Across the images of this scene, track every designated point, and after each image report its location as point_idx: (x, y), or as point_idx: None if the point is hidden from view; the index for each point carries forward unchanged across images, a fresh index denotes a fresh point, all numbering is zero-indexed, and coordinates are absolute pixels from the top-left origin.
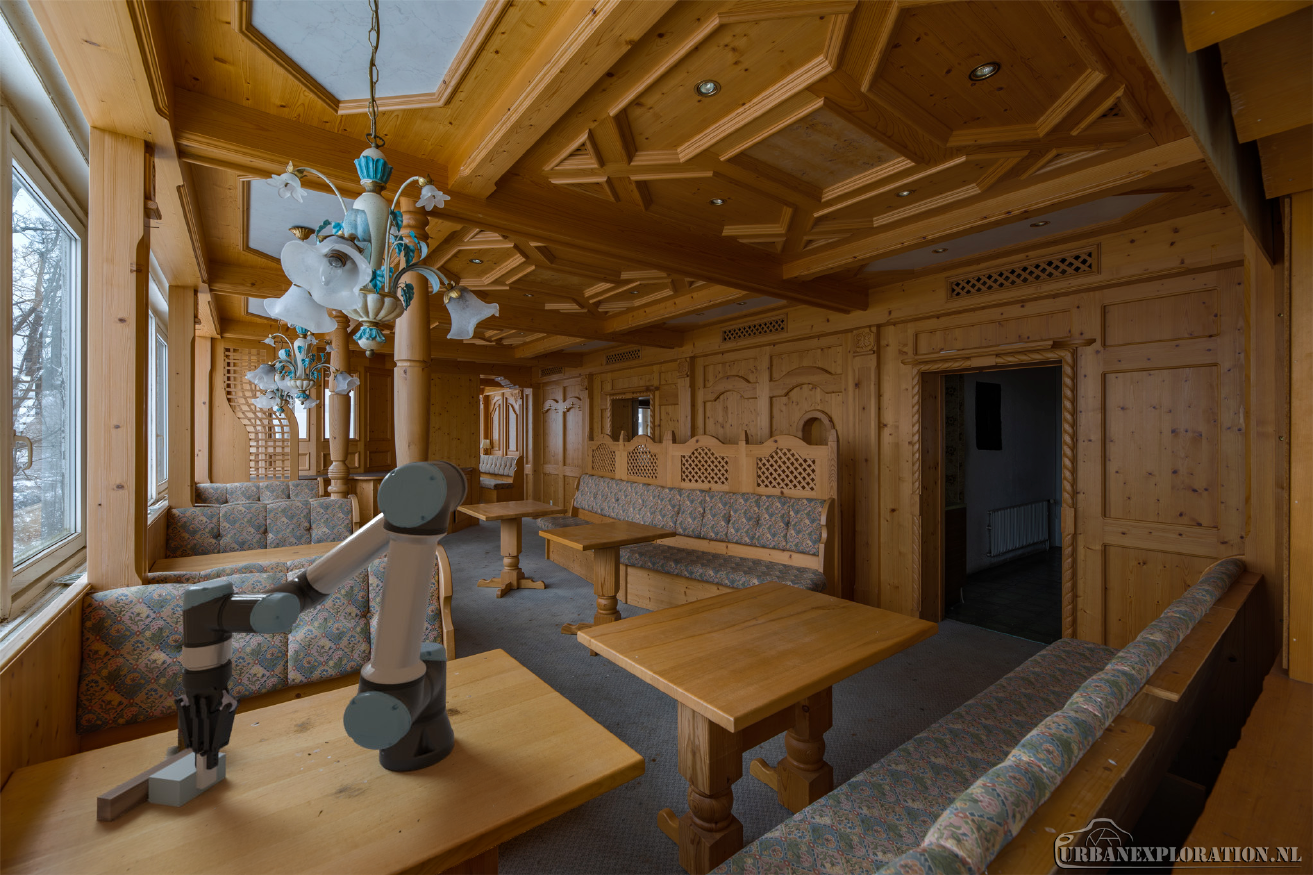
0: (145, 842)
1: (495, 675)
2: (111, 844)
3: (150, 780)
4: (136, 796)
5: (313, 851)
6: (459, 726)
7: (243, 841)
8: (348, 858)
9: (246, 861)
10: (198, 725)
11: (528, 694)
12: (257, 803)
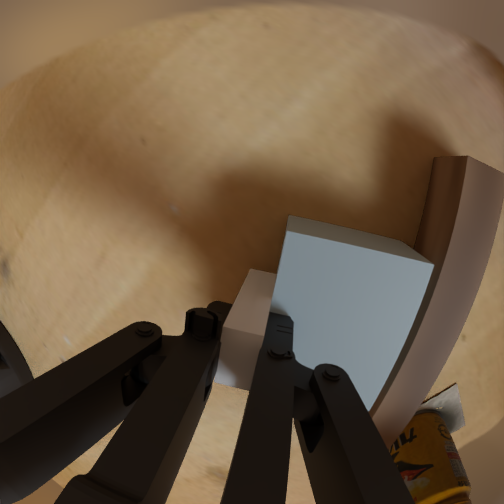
0: (252, 66)
1: None
2: (343, 61)
3: (422, 259)
4: (432, 229)
5: None
6: None
7: (48, 111)
8: None
9: (27, 77)
10: (232, 470)
11: None
12: (90, 228)
